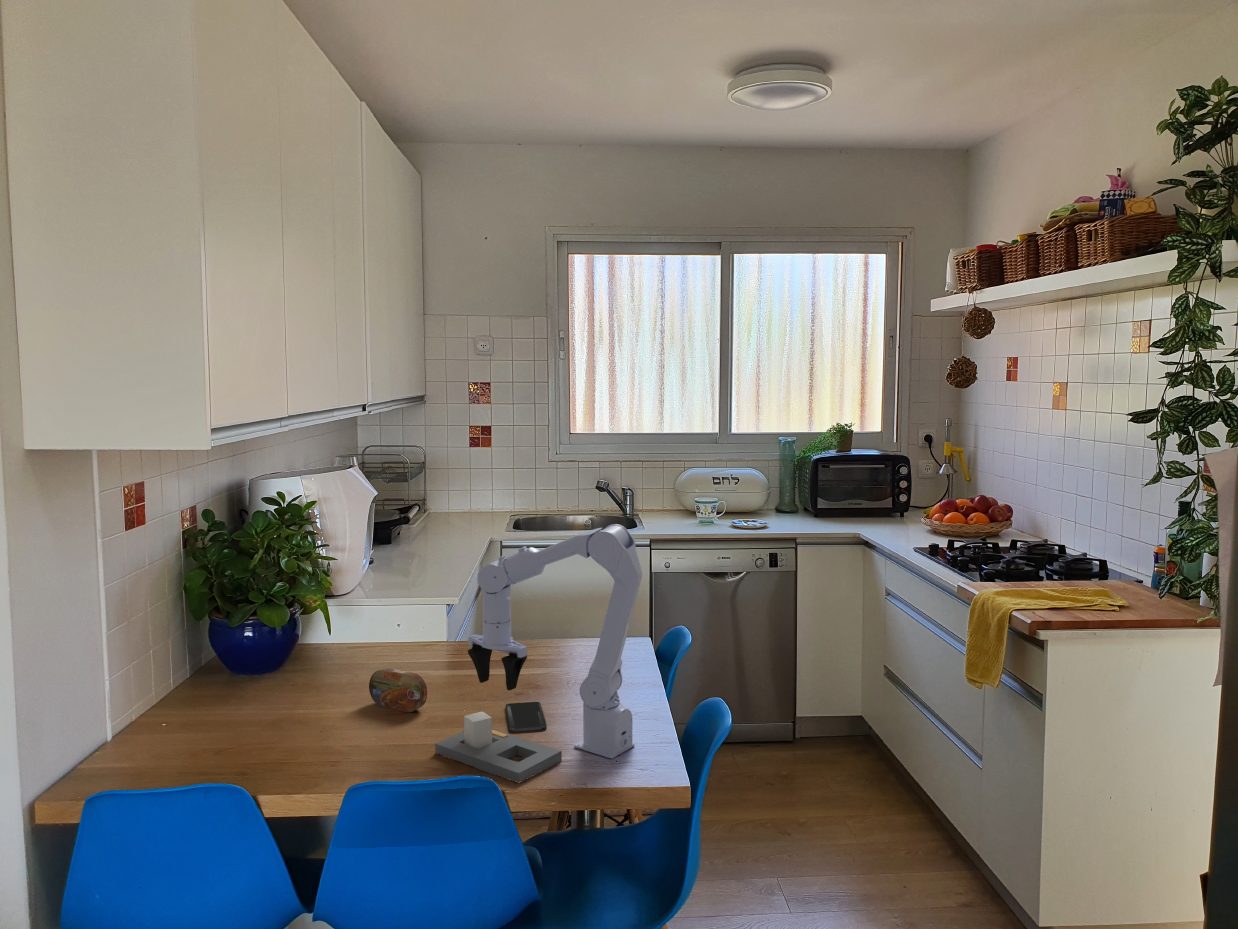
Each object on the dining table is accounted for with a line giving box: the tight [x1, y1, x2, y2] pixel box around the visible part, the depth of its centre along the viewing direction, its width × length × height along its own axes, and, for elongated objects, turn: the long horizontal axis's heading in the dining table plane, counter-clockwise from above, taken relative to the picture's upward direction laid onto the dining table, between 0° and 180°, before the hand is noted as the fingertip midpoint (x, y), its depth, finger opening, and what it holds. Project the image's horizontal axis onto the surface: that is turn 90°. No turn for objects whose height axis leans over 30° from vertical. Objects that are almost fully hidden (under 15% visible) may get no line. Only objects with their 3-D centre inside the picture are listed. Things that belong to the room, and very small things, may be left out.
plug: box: [463, 711, 493, 749], centre depth 174 cm, size 4×4×7 cm
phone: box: [505, 701, 548, 734], centre depth 191 cm, size 8×1×15 cm
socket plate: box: [434, 728, 563, 782], centre depth 171 cm, size 22×12×2 cm, turn 54°
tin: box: [368, 668, 428, 713], centre depth 197 cm, size 15×3×8 cm, turn 62°
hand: (497, 685), depth 181 cm, fingers open, 7 cm apart
